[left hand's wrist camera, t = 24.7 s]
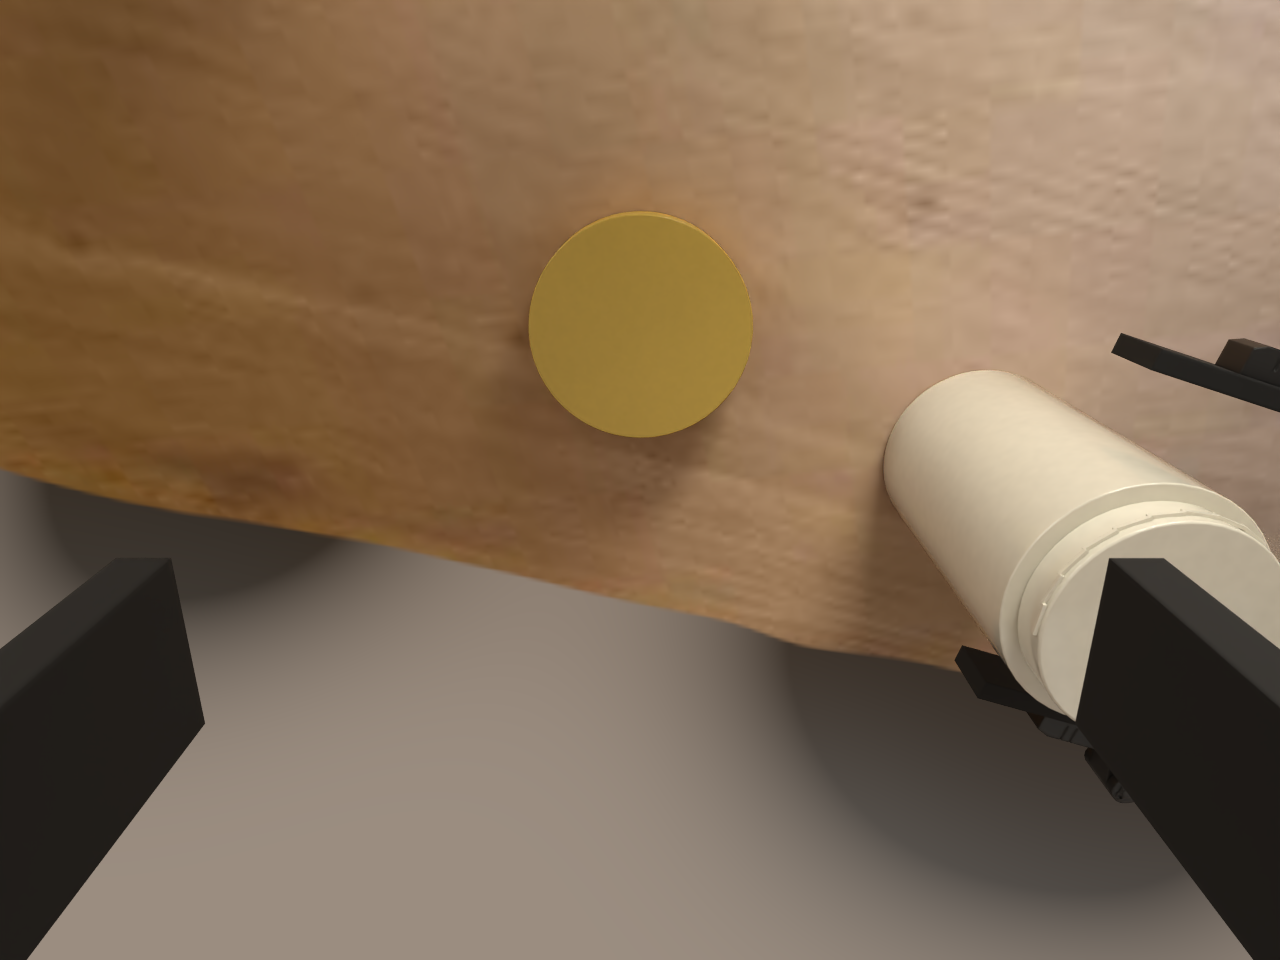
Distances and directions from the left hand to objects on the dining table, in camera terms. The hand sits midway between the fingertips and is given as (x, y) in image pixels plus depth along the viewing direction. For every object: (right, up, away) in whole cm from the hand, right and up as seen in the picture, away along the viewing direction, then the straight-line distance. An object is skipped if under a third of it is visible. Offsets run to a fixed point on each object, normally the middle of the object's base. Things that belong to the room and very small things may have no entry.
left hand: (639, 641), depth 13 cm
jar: (+15, +3, +27) cm, 31 cm away
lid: (0, +8, +23) cm, 25 cm away
